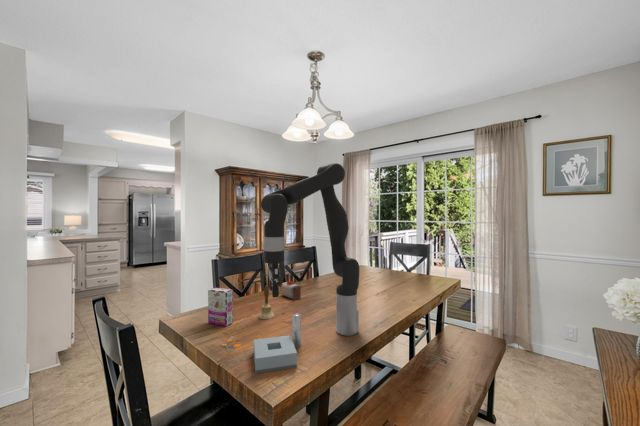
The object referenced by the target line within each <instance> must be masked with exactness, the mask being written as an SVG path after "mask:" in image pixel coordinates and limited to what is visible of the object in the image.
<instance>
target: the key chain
mask: <svg viewBox="0 0 640 426" xmlns="http://www.w3.org/2000/svg"><path fill="white" fill-rule="evenodd" d="M231 341H233V336H229V338H228V339H227V340H226V342H225V343H222V342H218V344H219V345H220V346H221V347H225V350H226V351H227V353H230V352H234V351H236V350H237V349H236V348H239V347H241V346H242V345H241V344H240V343H235V344H234V345H233V344H230V343H228V342H231ZM229 348H233V349H232V350H229Z"/></svg>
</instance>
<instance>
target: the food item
mask: <svg viewBox="0 0 640 426" xmlns="http://www.w3.org/2000/svg"><path fill="white" fill-rule="evenodd" d="M301 287H302V286H301V285H299V284H296V283H295V281H292V280H291V281H285V282H283V283H281V295H282V296H283V297H286V298H288V299H291V300H293V301H295V300H297V299H298V300H299V299H301V297H302V295H301V294H302V292H301V289H302V288H301Z"/></svg>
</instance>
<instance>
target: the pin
mask: <svg viewBox="0 0 640 426" xmlns="http://www.w3.org/2000/svg"><path fill="white" fill-rule="evenodd" d="M291 339H292V341H293V344H294V346H295V348H298V347H301V345H302V314H301V313H293V314H291Z"/></svg>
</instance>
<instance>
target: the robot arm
mask: <svg viewBox="0 0 640 426" xmlns="http://www.w3.org/2000/svg"><path fill="white" fill-rule="evenodd" d="M345 171H346V170H345V169H344V167H343V165H342V164H340V163H338V162H332V163H331V162H330V163H327V164H324V165H320V166H319V167H318V169H317V170H316V174H315V175H312V176H311V177H307V178H304V179H302V180H298V181H296V182H294V183H292V184H290V185H288V186H286V187H284V188H282V189H279V190H275V191H273V192H271V193H268V194H266V195H265V196H263V198H262V199H261V201H260V208H261V210H262V211H263V212H265V213H266V214H269V218H268V220H266V221H265V222H264V225H263V232H264V233H263V235H264V237H263V262H264V263H265V264H268V266H267V267H268V268H267V270H268V280H269V292H270V291H271V295H272V296H271V297H272V298H279V295H280V286H281V268H280V266H279V264H282V263H284V262H285V237H284V236H285V227H284V226H285V221H286V217H287V213H288V207H289V206H290V205H295V204H296V203H299V202H301V201H302V200H304V199H306V198H307V197H309V196H312V195H313V194H315V193H317V192H319V191H320V193H321V199H322V202H323V207H324V212H325V220H326V225H327V229H328V235H329V236H328V237H329V242H330V249H331V261H332V263H331V264H332V269H333V272H334V274H335V276H338V277H340V278H342V282H341V284H339V285H337V286H336V289H335V290H336V291H335V293H336V294H335V295H336V297H335V298H336V299H335V300H336V301H335V302H336V305H335V307H336V312H335V313H336V314H335V316H336V317H335V320H336V321H335V322H336V323H335V324H336V325H335V327H336V328H335V332H336V333H337V334H338V335H341V336H347V337H348V336H354V335H356V334H358V333H359V315H360V314H359V313H360V312H359V310H358V289H359V284H360V265H359V262H358V260H357V259H355V258H352V257H348V255H347V252H346V240H347V237H348V234H349V227H350V226H349V221H348V220H349V219H348V214H347V212H346V210H345V208H344V206H343V205H342V204H341V202H340V201H339V199H338V197H337V195H336V191H335V187H334V186H336V185H339V184H341V183H342V182H343V181H344V179H345V176H346V172H345Z"/></svg>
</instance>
